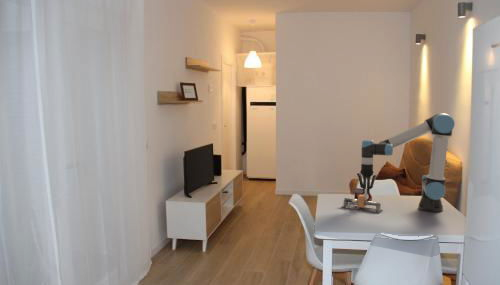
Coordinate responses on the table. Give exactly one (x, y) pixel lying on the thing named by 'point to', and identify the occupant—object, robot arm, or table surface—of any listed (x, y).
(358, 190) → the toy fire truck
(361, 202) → the collar
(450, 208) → the table surface
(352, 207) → the rail
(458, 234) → the table surface
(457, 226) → the table surface
